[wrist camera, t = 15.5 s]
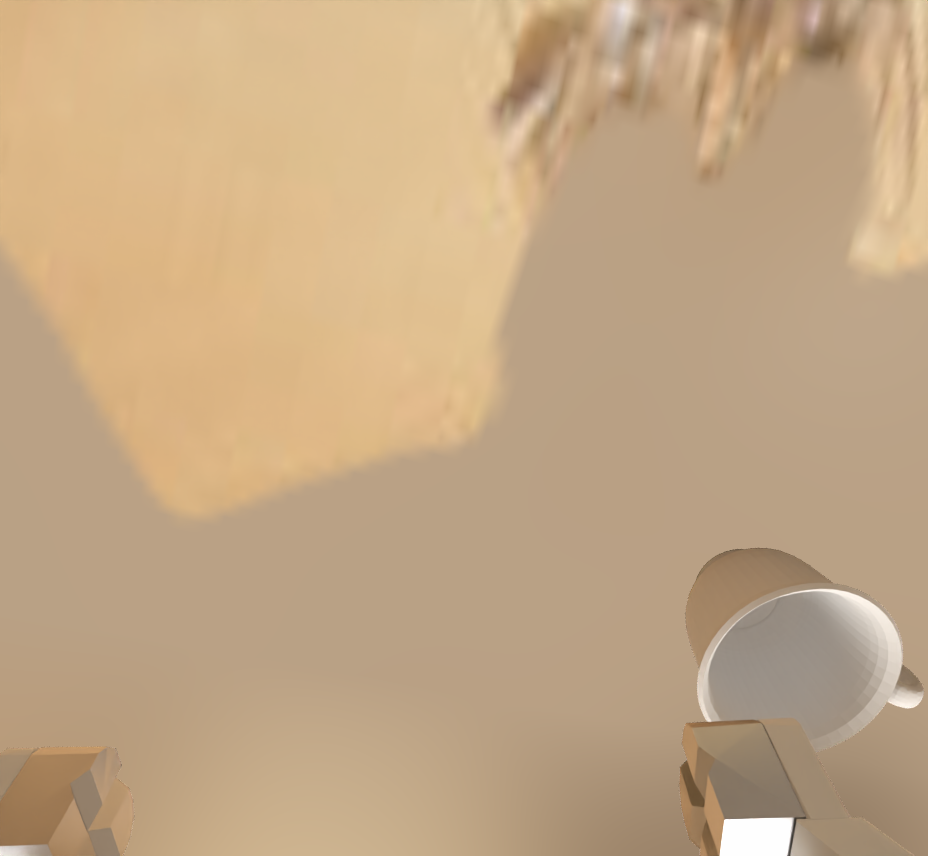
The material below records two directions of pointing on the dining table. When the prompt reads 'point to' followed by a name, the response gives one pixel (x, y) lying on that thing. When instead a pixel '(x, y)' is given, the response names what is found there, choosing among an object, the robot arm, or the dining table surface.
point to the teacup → (793, 647)
